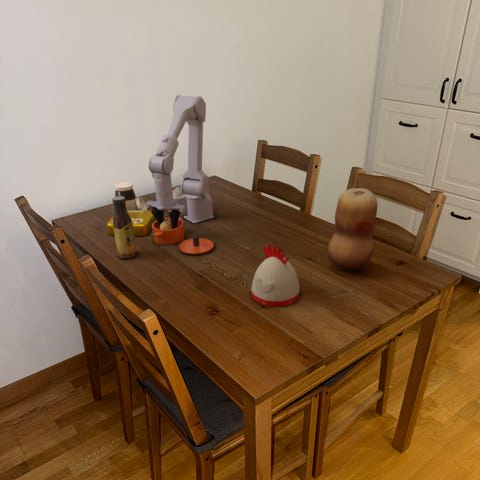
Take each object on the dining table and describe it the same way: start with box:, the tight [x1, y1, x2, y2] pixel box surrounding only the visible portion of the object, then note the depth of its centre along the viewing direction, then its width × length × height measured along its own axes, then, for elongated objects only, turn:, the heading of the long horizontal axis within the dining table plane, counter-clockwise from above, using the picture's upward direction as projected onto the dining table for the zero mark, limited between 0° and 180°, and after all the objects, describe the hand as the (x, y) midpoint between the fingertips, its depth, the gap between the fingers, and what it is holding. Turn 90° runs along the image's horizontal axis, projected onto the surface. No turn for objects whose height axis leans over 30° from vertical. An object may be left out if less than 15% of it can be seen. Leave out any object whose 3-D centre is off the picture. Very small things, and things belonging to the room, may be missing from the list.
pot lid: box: [178, 234, 215, 255], centre depth 163 cm, size 12×12×4 cm
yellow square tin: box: [106, 209, 157, 237], centre depth 179 cm, size 15×15×5 cm
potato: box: [160, 219, 172, 230], centre depth 169 cm, size 7×5×5 cm, turn 157°
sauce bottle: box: [111, 196, 137, 259], centre depth 155 cm, size 7×6×20 cm
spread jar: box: [114, 181, 148, 210], centre depth 189 cm, size 12×11×12 cm
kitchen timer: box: [250, 243, 300, 307], centre depth 133 cm, size 14×14×15 cm
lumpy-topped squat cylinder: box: [167, 186, 188, 217], centre depth 192 cm, size 10×13×9 cm
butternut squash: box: [327, 187, 378, 272], centre depth 142 cm, size 14×13×25 cm
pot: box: [151, 217, 186, 246], centre depth 170 cm, size 11×17×5 cm
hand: (168, 228), depth 170 cm, fingers closed on potato, 4 cm apart
